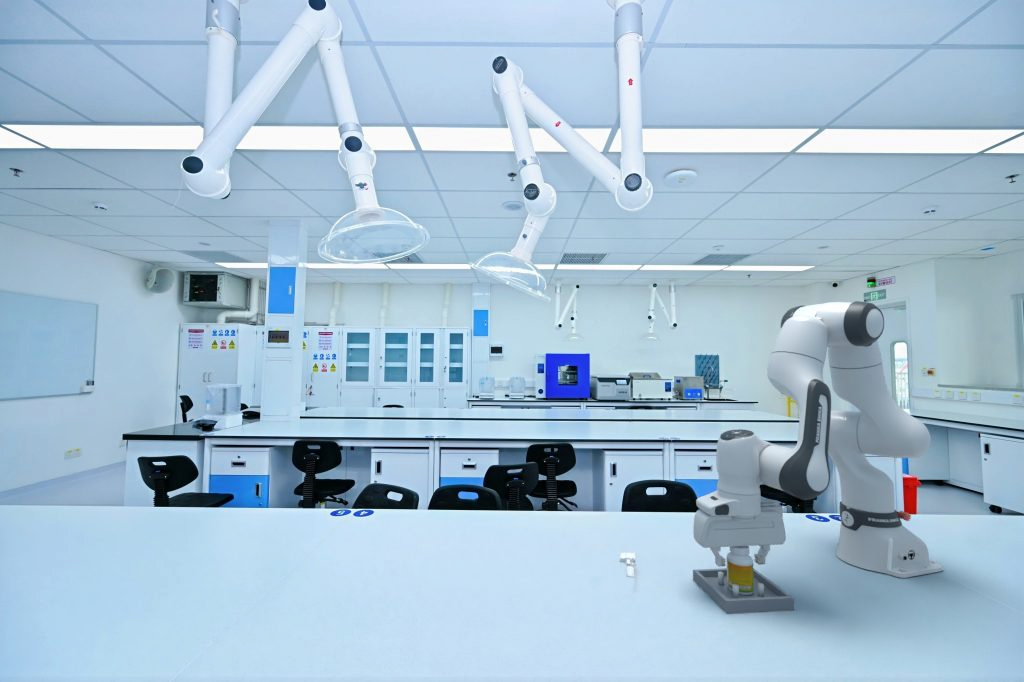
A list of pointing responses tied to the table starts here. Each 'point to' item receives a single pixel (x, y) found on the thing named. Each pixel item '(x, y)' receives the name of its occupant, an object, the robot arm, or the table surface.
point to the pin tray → (732, 602)
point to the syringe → (628, 562)
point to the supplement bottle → (740, 570)
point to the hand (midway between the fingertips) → (740, 564)
